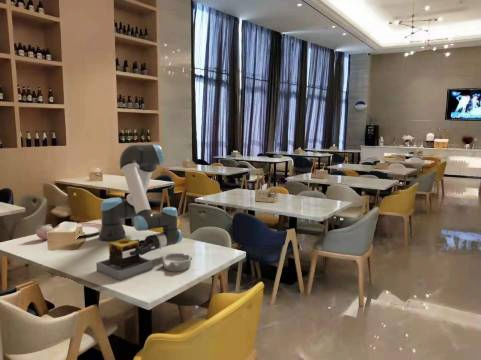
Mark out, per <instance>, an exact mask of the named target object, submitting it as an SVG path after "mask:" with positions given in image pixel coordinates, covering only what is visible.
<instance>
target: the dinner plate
mask: <svg viewBox="0 0 481 360" xmlns="http://www.w3.org/2000/svg"><path fill="white" fill-rule="evenodd" d="M76 223H77V224H81V225H82V227H83V231H84V232H85V235H86V236H85V237H88V236H93V235H96V234H99V233H100V230H101V226H102V223H97V222H76Z"/></svg>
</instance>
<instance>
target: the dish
mask: <svg viewBox="0 0 481 360" xmlns="http://www.w3.org/2000/svg"><path fill="white" fill-rule="evenodd" d="M192 260H193V257H192V255H189V254H185V253H182V252H181V253H179V252H172V253H168V254H165V255H164V256H163V257H162V259H161V261H162V265H163V268H164V269H165V270H167V271H169V272H183V271H185V270H188V269H189V268H190V267H191V264H192Z"/></svg>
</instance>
